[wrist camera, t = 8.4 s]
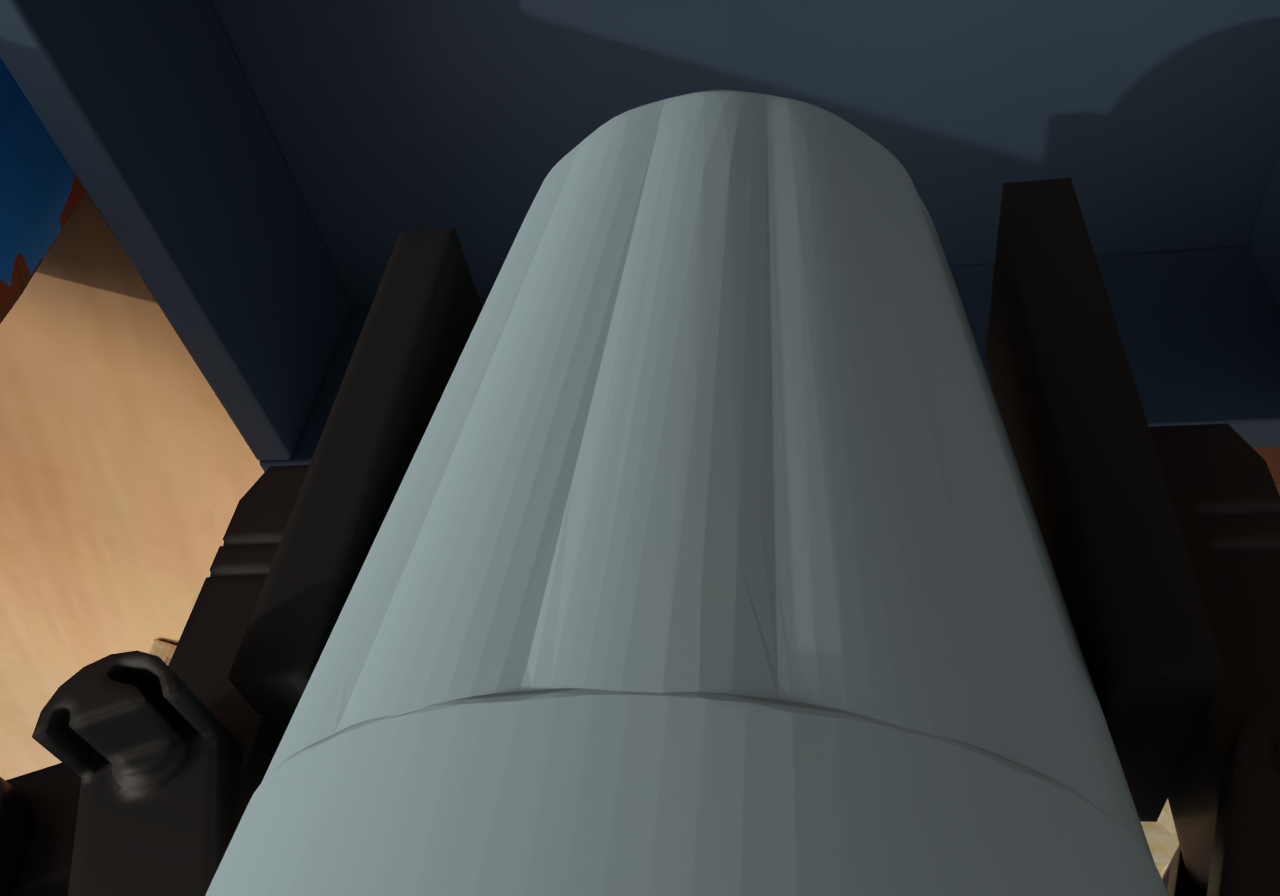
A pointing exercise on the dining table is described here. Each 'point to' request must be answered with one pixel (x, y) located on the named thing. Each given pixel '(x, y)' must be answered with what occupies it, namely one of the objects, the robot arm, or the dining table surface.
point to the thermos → (28, 191)
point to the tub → (629, 78)
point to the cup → (706, 569)
